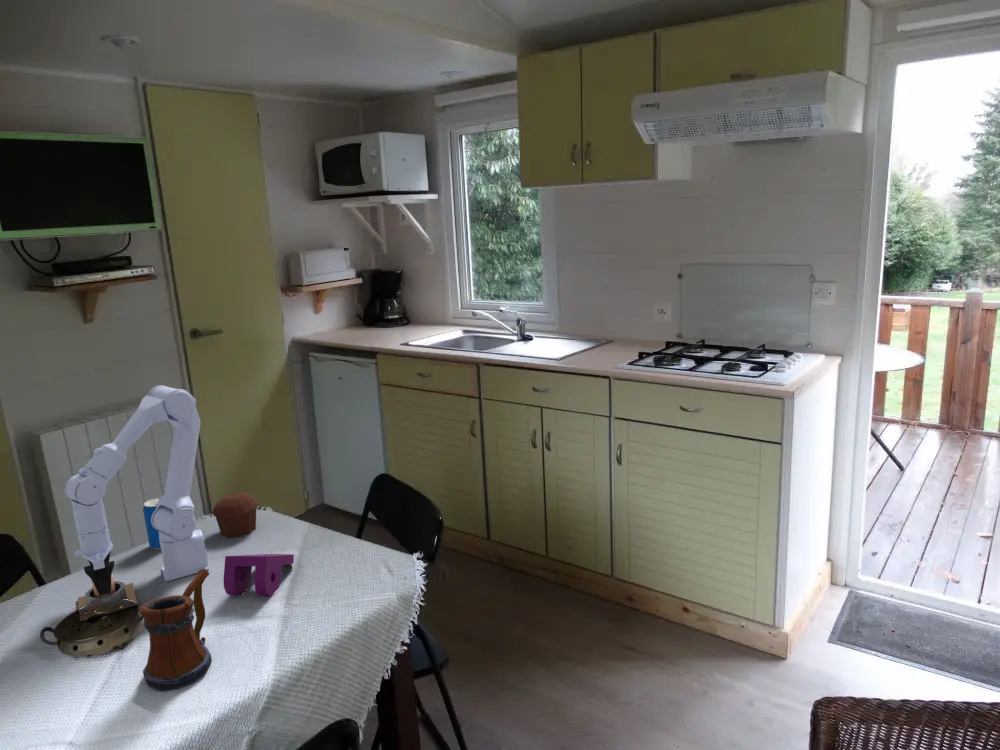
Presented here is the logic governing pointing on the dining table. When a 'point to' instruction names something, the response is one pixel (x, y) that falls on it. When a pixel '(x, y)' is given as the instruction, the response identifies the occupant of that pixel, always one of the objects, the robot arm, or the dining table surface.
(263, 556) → the mounting bracket
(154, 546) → the beverage can
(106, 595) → the rail post
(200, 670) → the mug
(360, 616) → the dining table surface
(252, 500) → the muffin
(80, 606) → the cup bracket
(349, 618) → the dining table surface
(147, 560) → the dining table surface
